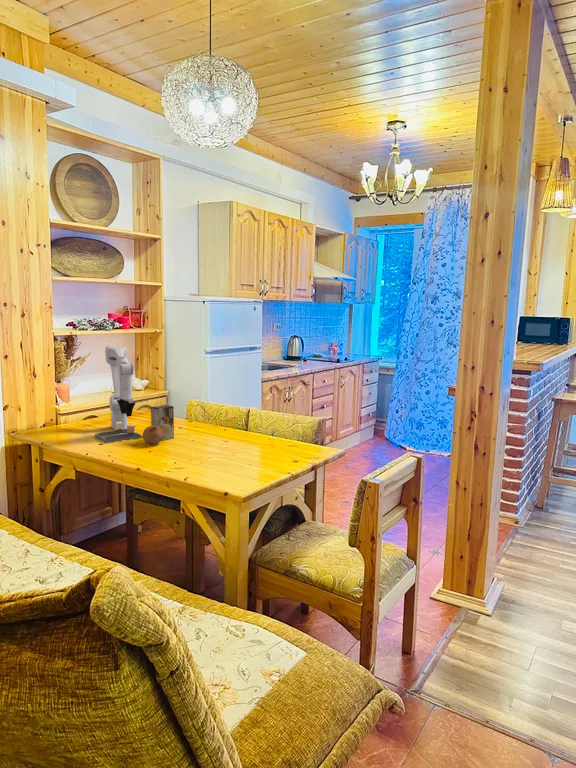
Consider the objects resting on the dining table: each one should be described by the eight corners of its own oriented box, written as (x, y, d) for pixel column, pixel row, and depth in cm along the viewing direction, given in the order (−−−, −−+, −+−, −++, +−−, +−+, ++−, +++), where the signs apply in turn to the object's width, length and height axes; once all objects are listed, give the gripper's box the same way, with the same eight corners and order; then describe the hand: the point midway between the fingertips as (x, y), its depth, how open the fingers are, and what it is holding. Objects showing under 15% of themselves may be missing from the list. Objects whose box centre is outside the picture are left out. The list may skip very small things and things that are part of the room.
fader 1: (116, 431, 265) (115, 422, 265) (120, 431, 267) (120, 421, 266) (118, 433, 263) (118, 423, 262) (123, 432, 264) (122, 422, 263)
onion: (156, 452, 248) (157, 435, 242) (138, 445, 249) (139, 428, 244) (166, 440, 256) (167, 424, 250) (148, 434, 257) (149, 417, 252)
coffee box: (165, 436, 266) (165, 404, 264) (174, 438, 262) (174, 405, 260) (150, 439, 259) (150, 406, 257) (159, 441, 255) (159, 408, 253)
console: (94, 436, 261) (94, 431, 261) (130, 432, 272) (130, 427, 272) (105, 443, 249) (105, 437, 249) (142, 438, 260) (142, 432, 260)
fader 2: (127, 435, 259) (127, 425, 258) (132, 434, 260) (131, 424, 260) (129, 436, 256) (129, 426, 256) (134, 435, 258) (134, 426, 257)
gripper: (112, 386, 268) (113, 413, 270) (122, 390, 256) (123, 418, 258) (126, 385, 272) (127, 411, 274) (137, 389, 260) (137, 417, 262)
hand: (126, 415), depth 266 cm, fingers open, 7 cm apart
